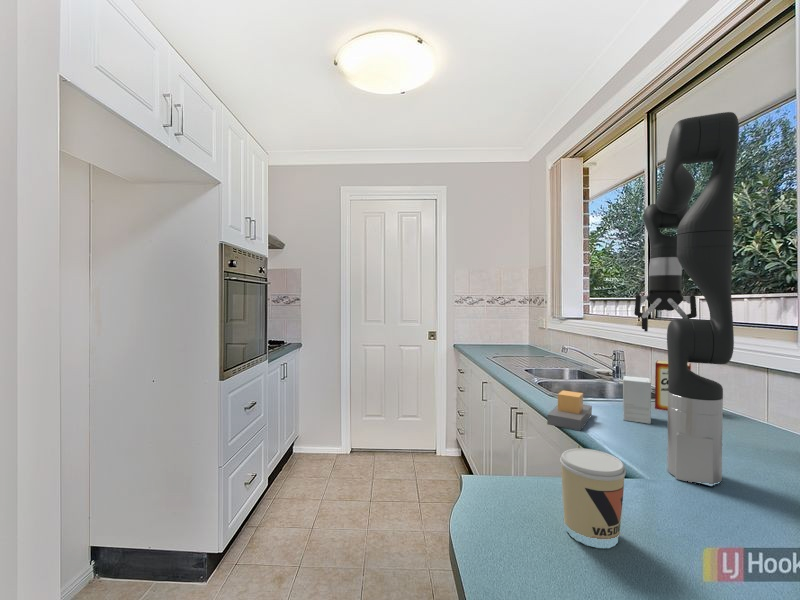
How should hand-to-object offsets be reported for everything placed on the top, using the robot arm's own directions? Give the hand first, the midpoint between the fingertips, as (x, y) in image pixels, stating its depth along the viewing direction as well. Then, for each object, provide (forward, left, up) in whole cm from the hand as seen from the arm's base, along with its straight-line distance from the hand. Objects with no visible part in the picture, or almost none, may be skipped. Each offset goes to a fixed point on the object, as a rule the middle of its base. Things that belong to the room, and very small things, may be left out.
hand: (664, 332), depth 107 cm
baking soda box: (+29, -2, -28) cm, 41 cm away
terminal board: (-4, +24, -28) cm, 37 cm away
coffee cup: (-63, +8, -28) cm, 70 cm away
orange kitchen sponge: (-4, +24, -25) cm, 35 cm away
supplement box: (+9, +7, -28) cm, 31 cm away
